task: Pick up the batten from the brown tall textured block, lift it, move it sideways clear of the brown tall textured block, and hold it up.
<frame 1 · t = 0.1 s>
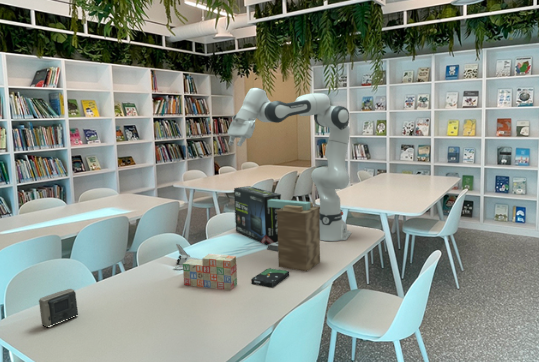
hand: (234, 145, 205), 54 cm above the table, tool tilted 30°, fingers open, 8 cm apart
space shuttle model: (199, 268, 200), on the table
graphics card: (289, 246, 229), on the table
router box: (258, 237, 247), on the table
stack of blocks: (210, 285, 178), on the table
disk drive: (270, 281, 181), on the table
camera: (60, 322, 149), on the table
brown tall textured block: (299, 264, 198), on the table
batten: (288, 207, 197), point 26 cm above the table, touching brown tall textured block
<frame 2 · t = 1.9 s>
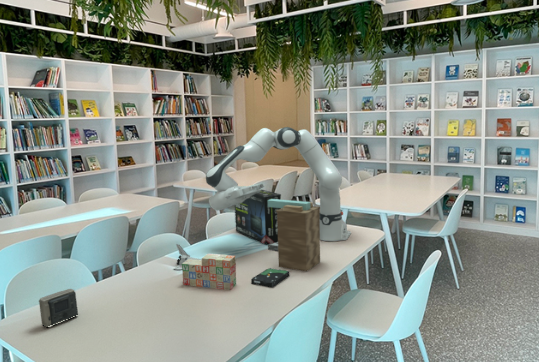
hand: (257, 186, 206), 34 cm above the table, tool pointing upward, fingers open, 8 cm apart
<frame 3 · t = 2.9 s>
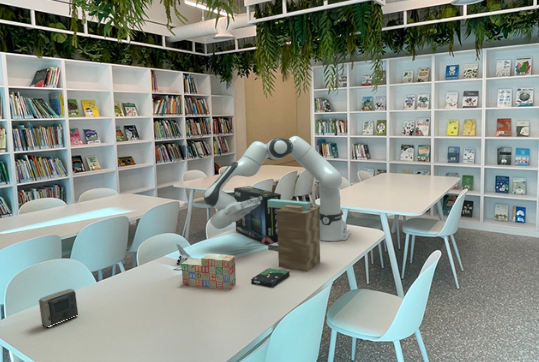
hand: (255, 199, 207), 28 cm above the table, tool pointing upward, fingers open, 8 cm apart
nothing on the table moved.
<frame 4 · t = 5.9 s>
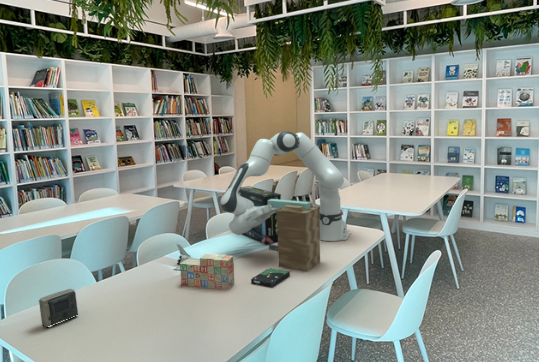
hand: (277, 203, 200), 27 cm above the table, tool pointing upward, fingers open, 8 cm apart
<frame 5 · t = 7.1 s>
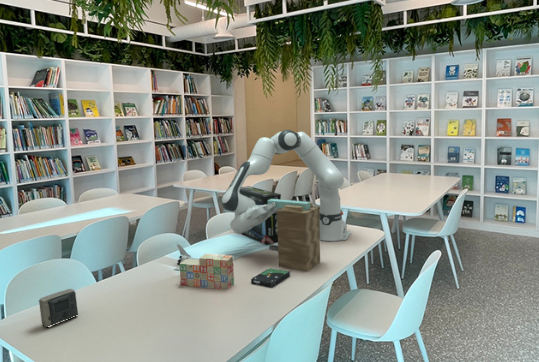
hand: (278, 202, 200), 28 cm above the table, tool pointing upward, fingers closed on batten, 4 cm apart
batten: (288, 207, 197), point 26 cm above the table, touching gripper, brown tall textured block
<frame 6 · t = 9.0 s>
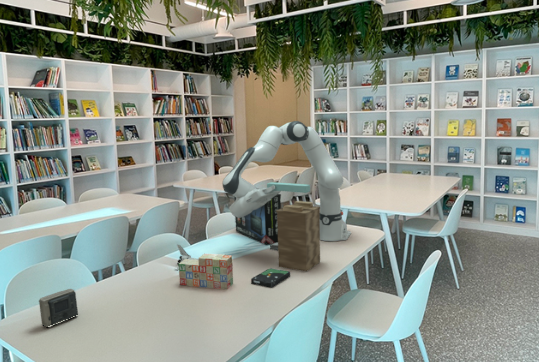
hand: (278, 185, 199), 36 cm above the table, tool pointing upward, fingers closed on batten, 4 cm apart
batten: (288, 190, 196), point 34 cm above the table, touching gripper
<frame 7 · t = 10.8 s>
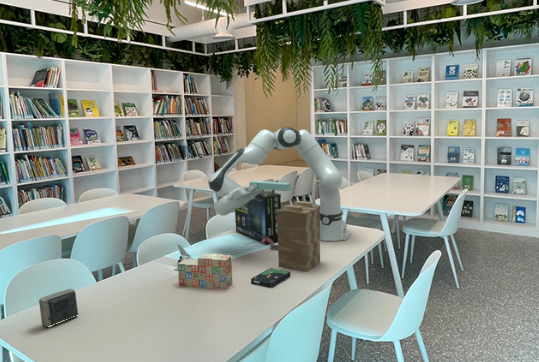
hand: (260, 184, 204), 36 cm above the table, tool pointing upward, fingers closed on batten, 4 cm apart
batten: (269, 189, 201), point 34 cm above the table, touching gripper
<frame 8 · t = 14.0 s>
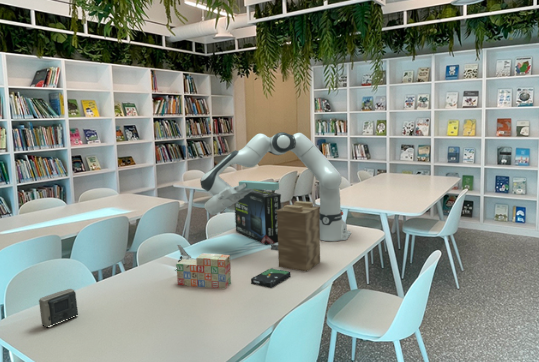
hand: (249, 183, 207), 36 cm above the table, tool pointing upward, fingers closed on batten, 4 cm apart
batten: (258, 188, 204), point 34 cm above the table, touching gripper
at the end: the gripper is holding batten; batten moved 17.8 cm from its start; batten touching gripper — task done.
